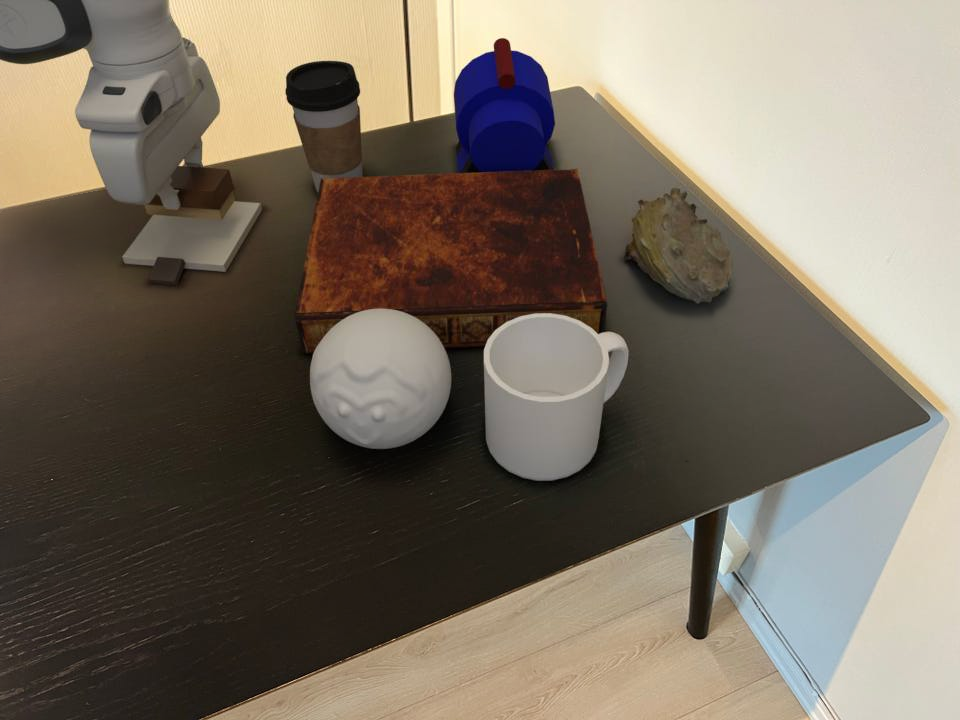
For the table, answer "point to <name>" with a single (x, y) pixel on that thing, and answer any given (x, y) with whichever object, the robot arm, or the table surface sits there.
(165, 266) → the dark brown square block
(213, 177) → the brown rectangular block
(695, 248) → the seashell
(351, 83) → the coffee cup
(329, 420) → the decorative ball
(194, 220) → the tile
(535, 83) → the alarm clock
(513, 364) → the mug
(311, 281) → the book
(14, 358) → the table surface
